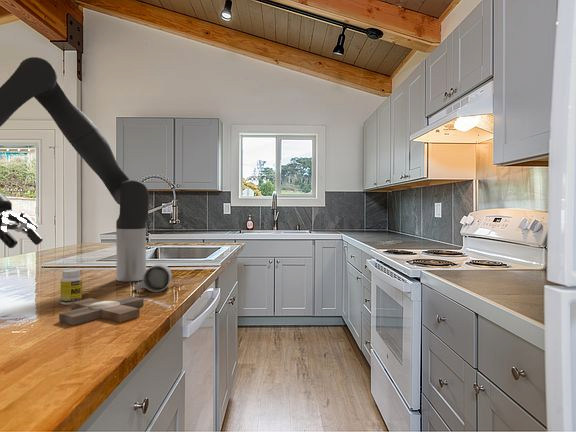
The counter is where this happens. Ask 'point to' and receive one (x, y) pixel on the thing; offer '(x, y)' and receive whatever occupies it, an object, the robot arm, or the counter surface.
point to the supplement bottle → (71, 286)
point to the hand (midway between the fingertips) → (27, 244)
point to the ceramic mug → (155, 278)
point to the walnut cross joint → (102, 310)
